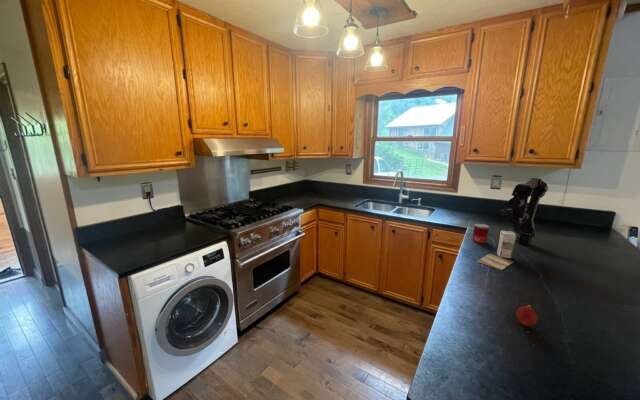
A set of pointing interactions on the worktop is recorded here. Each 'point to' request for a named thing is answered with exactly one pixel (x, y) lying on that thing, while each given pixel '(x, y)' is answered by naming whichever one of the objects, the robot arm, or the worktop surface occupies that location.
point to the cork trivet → (495, 261)
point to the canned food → (480, 233)
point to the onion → (526, 315)
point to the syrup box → (506, 244)
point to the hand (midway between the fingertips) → (515, 231)
